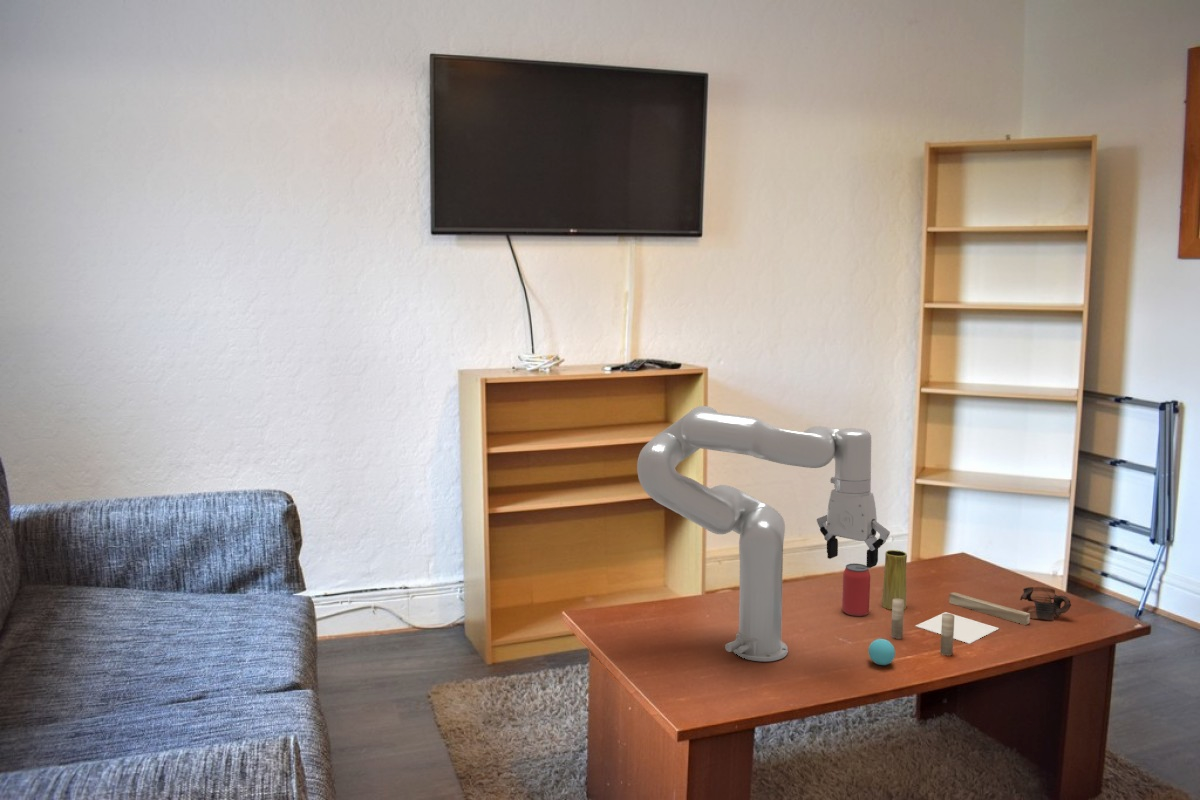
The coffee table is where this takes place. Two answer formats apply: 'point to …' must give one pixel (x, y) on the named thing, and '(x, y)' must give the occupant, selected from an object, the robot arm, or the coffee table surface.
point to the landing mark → (959, 628)
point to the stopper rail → (989, 608)
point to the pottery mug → (1045, 603)
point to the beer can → (856, 590)
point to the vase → (894, 577)
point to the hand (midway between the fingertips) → (851, 561)
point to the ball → (881, 652)
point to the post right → (947, 634)
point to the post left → (897, 618)
